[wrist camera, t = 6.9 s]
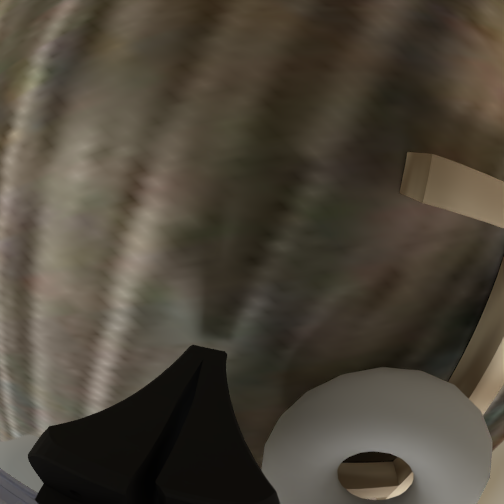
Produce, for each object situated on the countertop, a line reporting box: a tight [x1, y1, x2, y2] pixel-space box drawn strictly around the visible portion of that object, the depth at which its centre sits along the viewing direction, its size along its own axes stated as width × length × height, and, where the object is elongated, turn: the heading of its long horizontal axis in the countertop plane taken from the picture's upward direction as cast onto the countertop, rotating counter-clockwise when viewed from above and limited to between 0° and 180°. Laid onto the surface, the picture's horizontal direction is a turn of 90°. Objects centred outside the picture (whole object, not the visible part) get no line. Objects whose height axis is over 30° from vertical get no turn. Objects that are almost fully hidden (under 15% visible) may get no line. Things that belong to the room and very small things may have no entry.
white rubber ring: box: [261, 367, 492, 504], centre depth 9 cm, size 10×3×10 cm
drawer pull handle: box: [337, 152, 504, 500], centre depth 11 cm, size 21×8×2 cm, turn 171°
